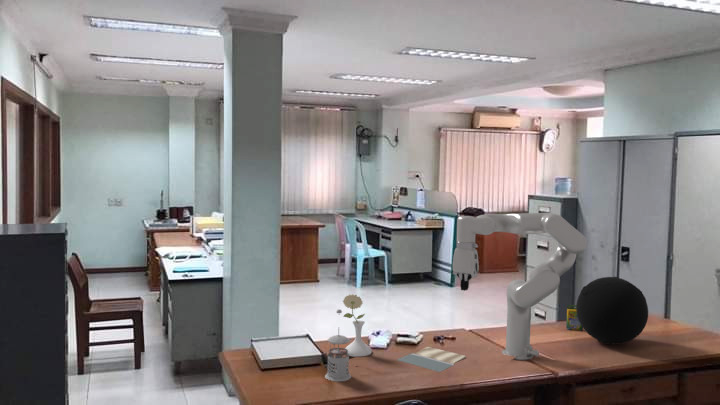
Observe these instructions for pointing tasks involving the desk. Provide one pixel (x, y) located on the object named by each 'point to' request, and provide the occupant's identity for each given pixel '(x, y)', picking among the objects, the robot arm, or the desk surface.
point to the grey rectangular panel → (425, 362)
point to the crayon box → (572, 319)
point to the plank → (440, 355)
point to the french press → (338, 359)
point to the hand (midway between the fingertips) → (464, 289)
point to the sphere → (612, 310)
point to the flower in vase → (356, 328)
